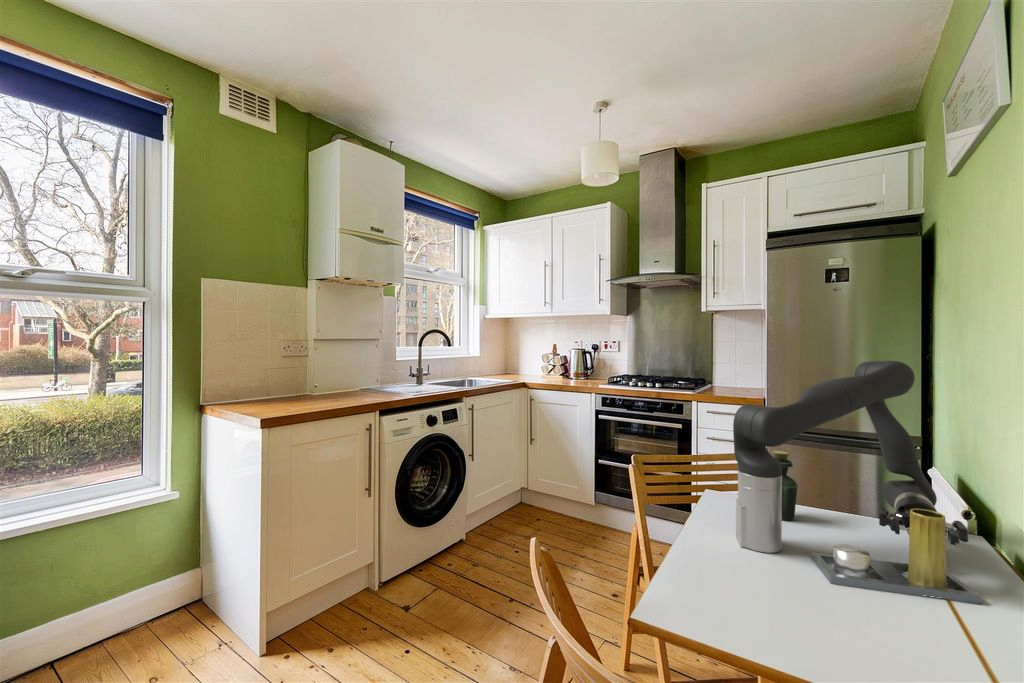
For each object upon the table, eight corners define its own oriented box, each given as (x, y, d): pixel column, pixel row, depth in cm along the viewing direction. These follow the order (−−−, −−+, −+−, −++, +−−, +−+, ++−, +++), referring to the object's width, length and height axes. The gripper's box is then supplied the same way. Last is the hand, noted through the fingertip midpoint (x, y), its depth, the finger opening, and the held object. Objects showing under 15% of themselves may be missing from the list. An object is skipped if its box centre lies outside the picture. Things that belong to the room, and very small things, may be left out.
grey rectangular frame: (830, 583, 90) (830, 558, 90) (811, 558, 100) (811, 536, 101) (981, 604, 83) (981, 577, 83) (943, 575, 94) (943, 551, 94)
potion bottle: (758, 515, 127) (758, 451, 127) (771, 509, 131) (771, 447, 132) (790, 524, 120) (790, 457, 120) (802, 518, 125) (802, 453, 125)
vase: (950, 585, 90) (950, 514, 90) (945, 596, 86) (945, 521, 86) (910, 573, 94) (910, 505, 94) (903, 582, 90) (904, 511, 91)
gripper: (876, 490, 110) (880, 508, 97) (957, 502, 102) (973, 525, 89) (877, 520, 110) (880, 543, 97) (958, 535, 102) (973, 563, 89)
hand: (924, 534), depth 93 cm, fingers open, 8 cm apart
